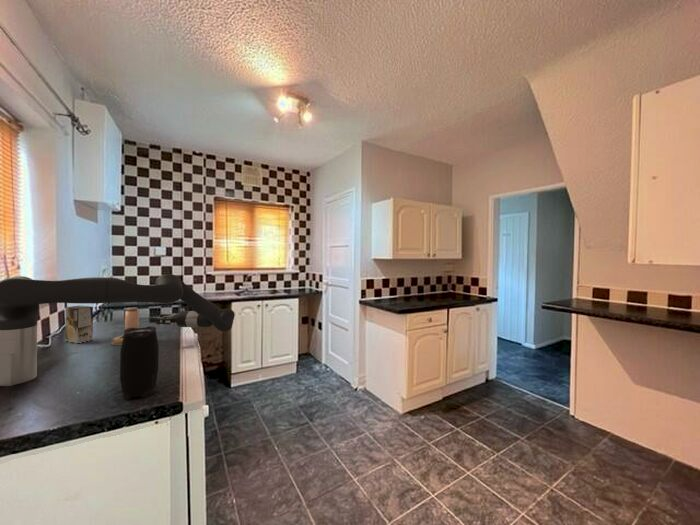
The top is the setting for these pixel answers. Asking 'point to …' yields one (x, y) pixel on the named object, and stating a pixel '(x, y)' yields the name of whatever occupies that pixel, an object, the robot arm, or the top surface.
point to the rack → (117, 340)
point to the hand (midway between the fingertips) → (155, 318)
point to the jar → (131, 318)
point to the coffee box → (79, 324)
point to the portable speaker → (139, 362)
